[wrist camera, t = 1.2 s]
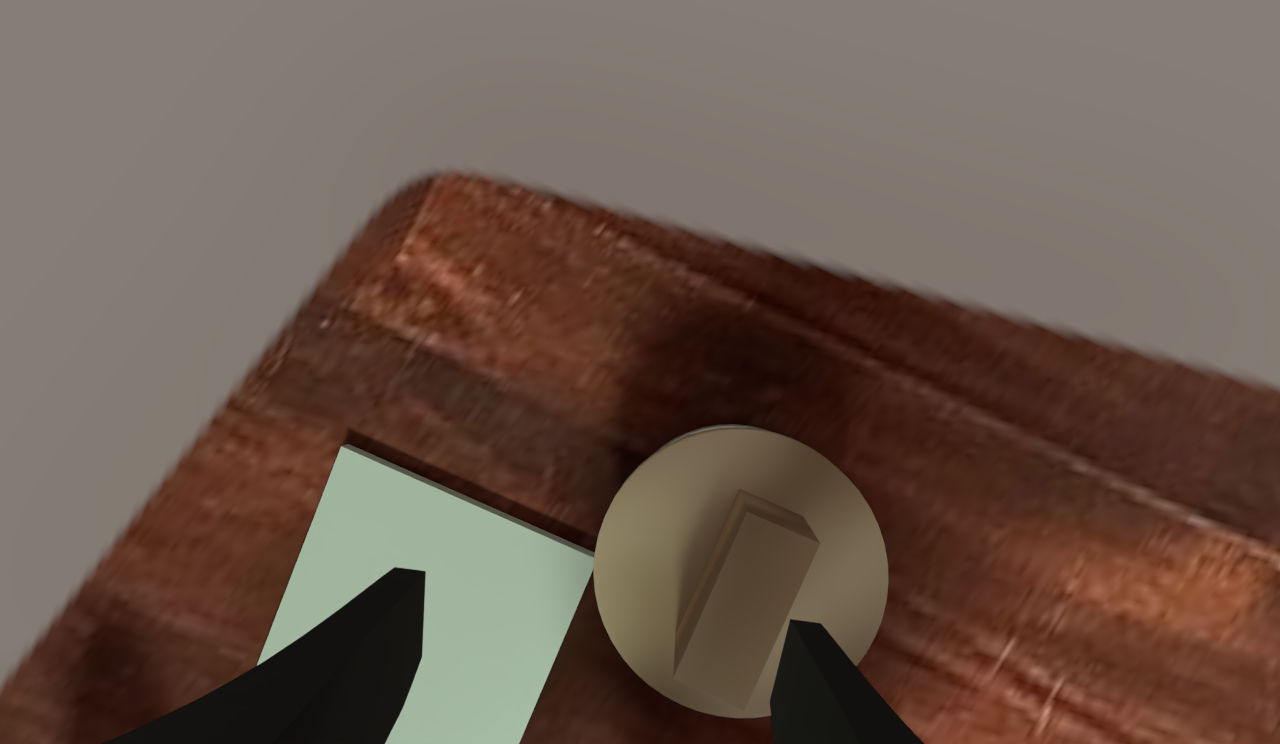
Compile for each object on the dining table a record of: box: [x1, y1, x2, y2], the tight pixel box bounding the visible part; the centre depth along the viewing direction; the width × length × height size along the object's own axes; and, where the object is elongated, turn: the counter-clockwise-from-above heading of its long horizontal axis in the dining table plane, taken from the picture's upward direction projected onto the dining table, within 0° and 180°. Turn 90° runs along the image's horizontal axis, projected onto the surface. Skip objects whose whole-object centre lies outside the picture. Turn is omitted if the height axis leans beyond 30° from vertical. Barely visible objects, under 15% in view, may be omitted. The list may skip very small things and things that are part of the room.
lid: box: [593, 427, 889, 718], centre depth 18 cm, size 9×9×3 cm
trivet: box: [257, 444, 595, 744], centre depth 24 cm, size 10×10×1 cm
